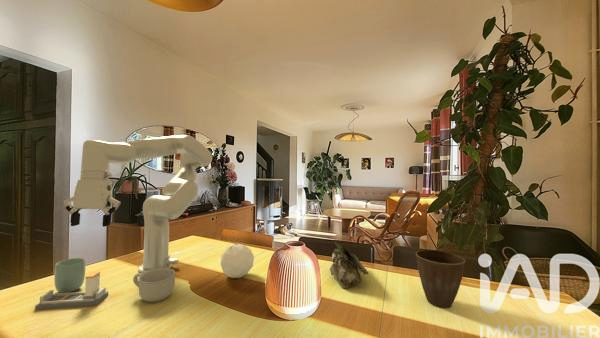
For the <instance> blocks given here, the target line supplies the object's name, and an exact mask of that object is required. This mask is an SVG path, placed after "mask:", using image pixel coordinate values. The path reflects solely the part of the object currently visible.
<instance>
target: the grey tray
mask: <svg viewBox="0 0 600 338" xmlns="http://www.w3.org/2000/svg"><path fill="white" fill-rule="evenodd" d="M106 289H107V288H106V287H102V288H100V289H99V291H98V292H97V293H96V295H95V298H91V299H83V296H84V295H85V291H73V292H70V293H60V292H57V293H54V292H55V291H54V290H53V289H52V290H48V291H47V292H45V293H43V294H42V295H40V297H39V303H37V304H35V306H34V310H37V311H38V310H40V311H41V310H52V309H67V308H68V309H69V308H83V307H96V306H97V305H99V304H100V303H101V302H102V301H103V300H104V299H106V298H107V297H108V296H109V291H107V290H106Z"/></svg>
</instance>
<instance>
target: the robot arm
mask: <svg viewBox="0 0 600 338" xmlns="http://www.w3.org/2000/svg"><path fill="white" fill-rule="evenodd" d="M177 154H178V155H179V154H180V158H179V160H180V161H179V162H180V168H179V171H178V172H177V173H176V174H175V175H174V176H173V177H172V178H171V179H170V180H169V181H168V182H166V184H165V185H164V187H163V188H162V194H163V195H158V194H157V195H155V194H154V195H151V196H149V197H148V198H146V199H145V200H144V201H143V203H142V204H143V205H142V213H143V220H144V229H143V230H144V232H143V235H144V236H143V255H142V256H143V258H142V264H141V265H139V266H138V269H137V271H138V273H145V272H147V271H150V270H154V269H159V268H170V269H172V266H173V265H178V264H179V259H178V258H176V257H174V258H171V255H170V254H169V245H170V243H169V242H170V222H169V220H175V219H178V218H179V217H180V216H181V215H182V214H183V213H185V212H186V210H187V209H188V207H190V205H191V204H192V203H193V202H194V201H195V199H196V198H197V196H198V193H199V187H198V185H197V183H196V182H195V181H196V179H197V171H196V167H208V166H209V165H210V164H211V163H212V161H213V155H212V153H211V151H210V150H209V149H208V148H207V147H206V146H205V145H204V144H203V143H202V142H200V141H199V140H198V139H197V138H195V137H193V136H191V135H189V134H181V135H180V134H179V135H169V136H160V137H151V138H143V139H138V140H131V141H121V142H120V141H119V142H107V141H102V140H95V139H87V140H85V141H83V143H82V154H81V164H80V167H81V168H80V176H79V177H80V179H78V180H77V182H76V185H75V189H74V192H73V196H72V197H69V198H67V199H65V200H63V204H64V206H65V210H67V211H68V214H69V215H70V227H75V226H80V221H81V213H80V212H81V210H101V211H102V212H103V213H104V214H103V215H102V227H104V228H105V227H108V226H110V225H111V223H112V215H113V214H114V213H115V211H117V210H118V208H119V207H120V206H121V201H119V200H117V199H116V198H114V197H113V186H112V181H111V180H109V178H112V177H113V173H110V164H123V165H125V164H129V163H131V162H133V161H134V160H136V159H137V160H139V159H141V160H142V159H147V160H148V159H157V158H161V157H168V156H173V155H177Z"/></svg>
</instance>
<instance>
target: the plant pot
mask: <svg viewBox="0 0 600 338" xmlns="http://www.w3.org/2000/svg"><path fill="white" fill-rule="evenodd" d="M415 257H416V264H417V269H418V275H419V279H420V283H421V286H422V287H421V288H422V290H423V294H424V295H425V298H426V300H427V302H428V303H429V304H430V305H432V306H435V308H436V307H437V308H440V309H449V308H451V307H452V306H453V305H454V304H453V303H454V302H455V300H456V298H457V294H458V292H459V290H460V288H461V287H460V286H461V283H462V280H463V275H464V270H465V264H466V259H464V258H463V257H461V256H459V255H457V254H454V253H451V252H447V251H442V250H436V249H432V250H431V249H423V250H417V251H416V252H415Z"/></svg>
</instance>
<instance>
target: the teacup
mask: <svg viewBox="0 0 600 338" xmlns="http://www.w3.org/2000/svg"><path fill="white" fill-rule="evenodd" d="M175 280H176V270H174V269H173V268H159V269H154V270H150V271H147V272H145V273H141V272H137V273H136V274H135V275H133V279H132V281H133V284H134V286H136V287H137V288H138V295H139V297H140V298H141V300H143V301H145V302H147V303H157V302H162V301H164V300H166V299H167V298H168V297H169V296H170V295H171V294H172V293H173V291H174V289H175V283H176V281H175Z"/></svg>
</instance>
